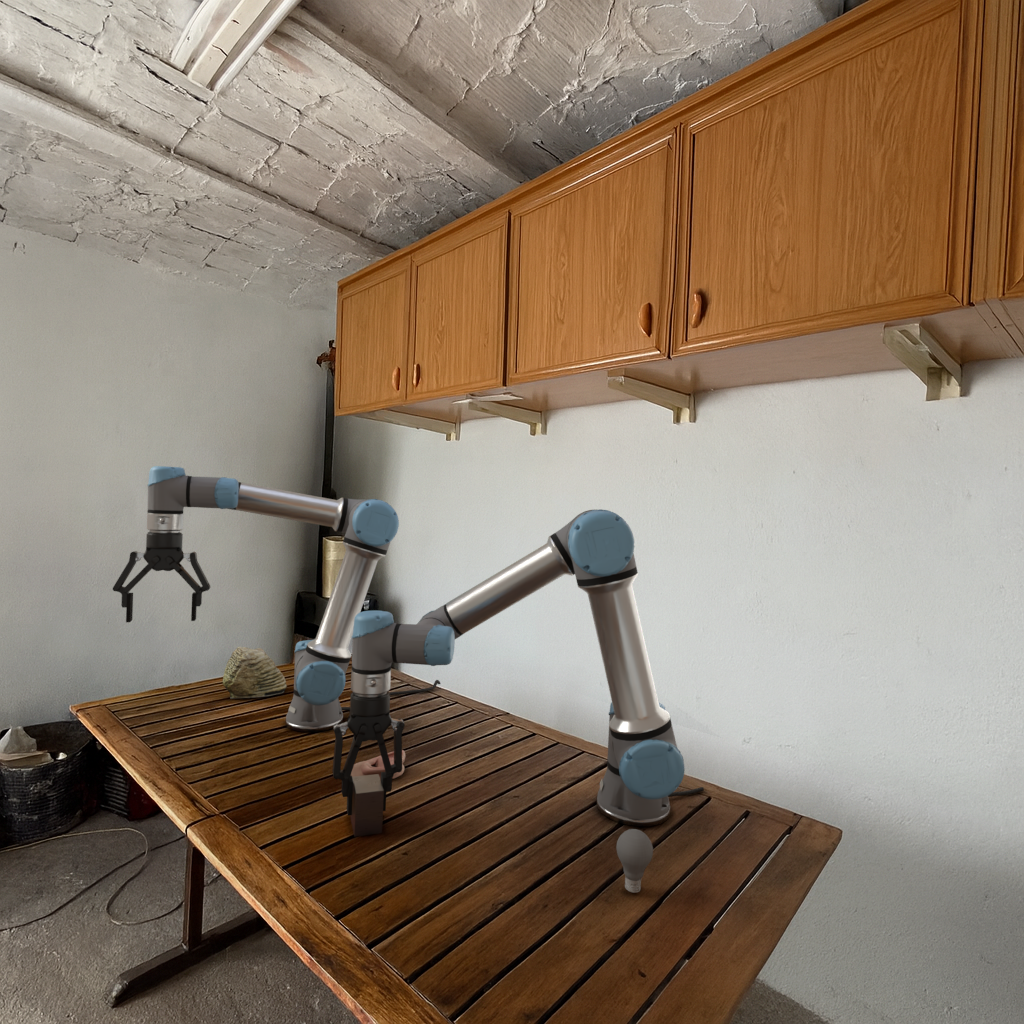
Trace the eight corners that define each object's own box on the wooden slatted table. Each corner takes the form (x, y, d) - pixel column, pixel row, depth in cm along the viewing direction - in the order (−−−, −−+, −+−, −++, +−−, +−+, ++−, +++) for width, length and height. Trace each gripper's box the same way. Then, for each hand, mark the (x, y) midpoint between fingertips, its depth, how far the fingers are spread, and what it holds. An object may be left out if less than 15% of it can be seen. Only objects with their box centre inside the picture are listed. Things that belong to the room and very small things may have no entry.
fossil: (218, 695, 195) (220, 647, 195) (278, 685, 208) (279, 640, 207) (228, 703, 189) (230, 653, 188) (289, 692, 201) (290, 645, 201)
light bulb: (610, 879, 108) (613, 822, 108) (644, 879, 109) (647, 822, 109) (619, 902, 102) (622, 840, 102) (655, 901, 103) (658, 840, 103)
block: (354, 837, 119) (356, 793, 119) (350, 818, 126) (352, 776, 126) (382, 833, 121) (383, 790, 121) (376, 815, 128) (378, 773, 127)
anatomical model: (336, 761, 142) (359, 742, 153) (336, 778, 142) (358, 758, 153) (392, 768, 139) (411, 749, 151) (391, 786, 139) (410, 765, 151)
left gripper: (99, 531, 142) (96, 625, 143) (221, 533, 151) (217, 622, 151) (108, 529, 149) (105, 618, 150) (223, 531, 158) (220, 616, 158)
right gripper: (321, 701, 116) (316, 826, 117) (422, 694, 122) (417, 813, 123) (319, 688, 123) (315, 806, 124) (414, 683, 129) (410, 795, 130)
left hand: (161, 620), depth 151 cm, fingers open, 13 cm apart
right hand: (366, 809), depth 123 cm, fingers open, 6 cm apart
